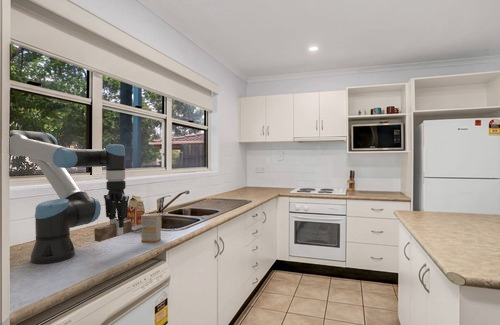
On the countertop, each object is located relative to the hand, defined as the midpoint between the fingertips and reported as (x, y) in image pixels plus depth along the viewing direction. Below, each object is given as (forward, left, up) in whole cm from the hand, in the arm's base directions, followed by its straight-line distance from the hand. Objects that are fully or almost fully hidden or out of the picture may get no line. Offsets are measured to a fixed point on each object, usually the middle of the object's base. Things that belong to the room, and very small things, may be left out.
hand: (116, 234), depth 126 cm
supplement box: (+20, 0, -8) cm, 22 cm away
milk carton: (+32, +24, -8) cm, 41 cm away
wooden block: (+2, 0, 0) cm, 2 cm away
